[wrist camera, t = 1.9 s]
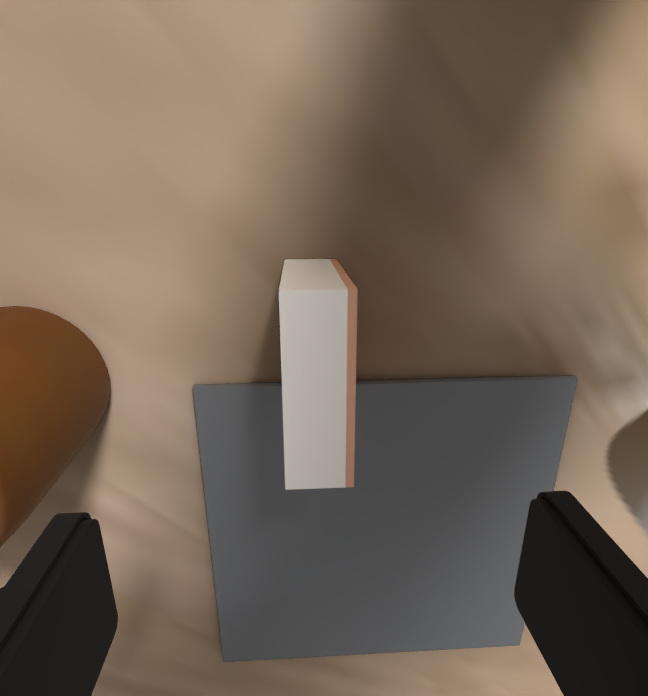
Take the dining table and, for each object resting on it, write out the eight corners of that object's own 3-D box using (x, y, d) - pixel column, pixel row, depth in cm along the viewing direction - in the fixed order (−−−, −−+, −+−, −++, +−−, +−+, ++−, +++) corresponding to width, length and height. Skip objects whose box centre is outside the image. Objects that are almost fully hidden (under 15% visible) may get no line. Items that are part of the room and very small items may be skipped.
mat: (194, 384, 24) (192, 388, 23) (573, 375, 25) (577, 378, 24) (224, 656, 31) (223, 662, 30) (516, 639, 32) (519, 645, 32)
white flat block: (284, 259, 22) (278, 290, 14) (335, 258, 22) (357, 289, 14) (288, 397, 24) (285, 489, 16) (335, 396, 24) (353, 487, 16)
